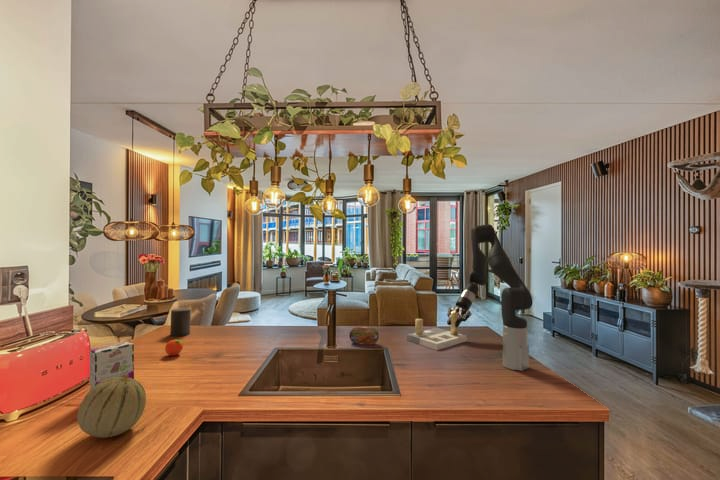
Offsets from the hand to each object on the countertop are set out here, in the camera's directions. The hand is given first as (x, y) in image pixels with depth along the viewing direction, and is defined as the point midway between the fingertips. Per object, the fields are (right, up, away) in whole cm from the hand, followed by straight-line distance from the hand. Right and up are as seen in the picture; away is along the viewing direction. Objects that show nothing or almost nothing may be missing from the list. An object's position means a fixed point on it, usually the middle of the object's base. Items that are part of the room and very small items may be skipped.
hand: (452, 325), depth 174 cm
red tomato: (-133, -7, -26) cm, 135 cm away
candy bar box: (-132, -7, -64) cm, 147 cm away
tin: (-47, -8, -6) cm, 48 cm away
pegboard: (-8, -8, 0) cm, 12 cm away
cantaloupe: (-115, -7, -86) cm, 144 cm away
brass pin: (+1, -5, +1) cm, 6 cm away
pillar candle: (-148, -7, +8) cm, 149 cm away
